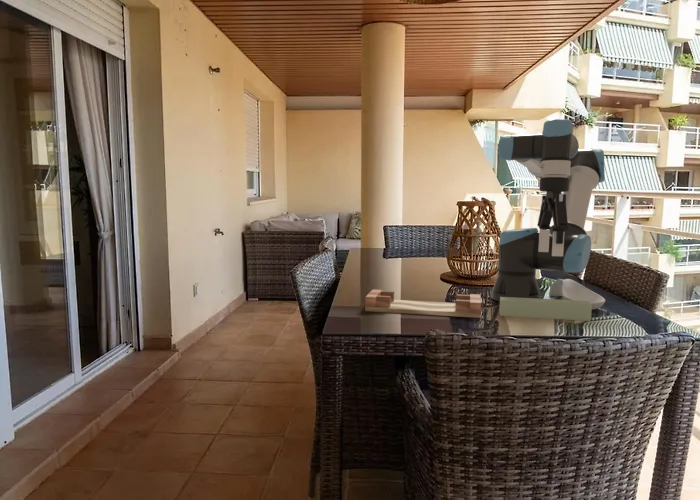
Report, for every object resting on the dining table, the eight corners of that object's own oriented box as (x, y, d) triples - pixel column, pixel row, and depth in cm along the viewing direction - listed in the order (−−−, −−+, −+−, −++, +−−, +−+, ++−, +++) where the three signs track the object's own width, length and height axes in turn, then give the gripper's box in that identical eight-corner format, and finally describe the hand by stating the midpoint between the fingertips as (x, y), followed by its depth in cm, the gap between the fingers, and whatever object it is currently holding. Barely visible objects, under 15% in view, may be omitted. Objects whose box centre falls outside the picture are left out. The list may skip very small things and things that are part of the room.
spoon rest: (612, 313, 151) (614, 289, 150) (574, 314, 150) (576, 289, 149) (570, 296, 174) (571, 275, 173) (537, 296, 173) (538, 275, 172)
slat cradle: (372, 302, 163) (372, 289, 162) (479, 308, 155) (480, 294, 155) (365, 310, 151) (365, 297, 151) (480, 317, 144) (481, 303, 143)
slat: (499, 313, 150) (500, 296, 150) (587, 318, 145) (588, 300, 144) (500, 316, 146) (500, 299, 146) (590, 321, 141) (591, 304, 141)
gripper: (529, 179, 154) (525, 249, 156) (553, 173, 129) (548, 257, 131) (555, 179, 153) (551, 250, 155) (584, 174, 128) (579, 258, 130)
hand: (550, 254), depth 143 cm, fingers open, 13 cm apart
